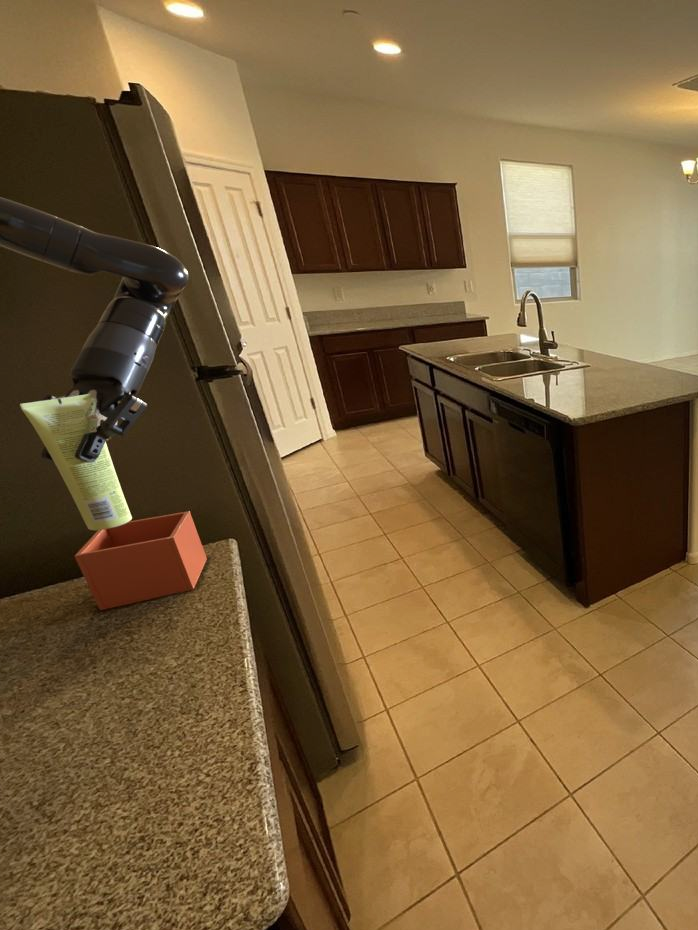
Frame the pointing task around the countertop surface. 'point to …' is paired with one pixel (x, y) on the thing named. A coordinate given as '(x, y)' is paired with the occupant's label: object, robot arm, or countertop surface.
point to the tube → (86, 481)
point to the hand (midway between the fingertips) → (67, 459)
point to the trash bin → (142, 560)
